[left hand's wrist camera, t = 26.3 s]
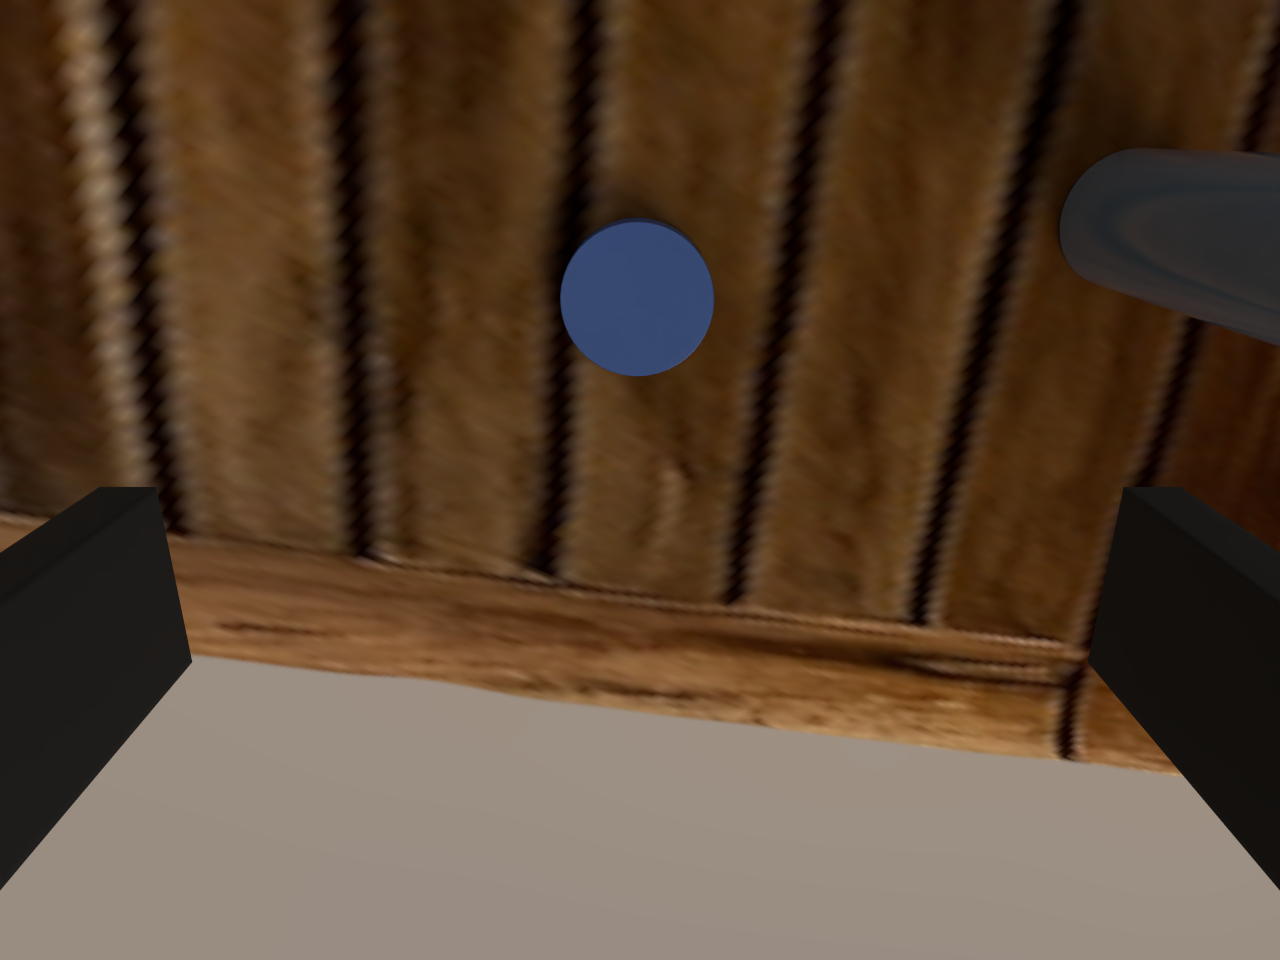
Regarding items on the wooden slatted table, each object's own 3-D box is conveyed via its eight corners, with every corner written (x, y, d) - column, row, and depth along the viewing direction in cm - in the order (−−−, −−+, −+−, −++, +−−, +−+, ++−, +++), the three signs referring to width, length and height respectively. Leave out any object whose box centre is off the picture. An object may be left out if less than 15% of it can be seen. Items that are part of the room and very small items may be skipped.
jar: (1171, 294, 37) (1505, 398, 23) (1043, 279, 37) (1298, 375, 23) (1215, 156, 35) (1610, 174, 21) (1080, 139, 35) (1386, 146, 21)
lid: (673, 191, 36) (674, 193, 34) (734, 328, 38) (738, 337, 36) (537, 258, 37) (532, 264, 35) (603, 388, 39) (602, 400, 37)
